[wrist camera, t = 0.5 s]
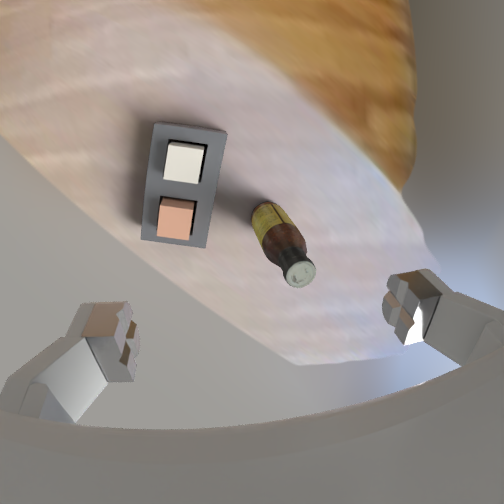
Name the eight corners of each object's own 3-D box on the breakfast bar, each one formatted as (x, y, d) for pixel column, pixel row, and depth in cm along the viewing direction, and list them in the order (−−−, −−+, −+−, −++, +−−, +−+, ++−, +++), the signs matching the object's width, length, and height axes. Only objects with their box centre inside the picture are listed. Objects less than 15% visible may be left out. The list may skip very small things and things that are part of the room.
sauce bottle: (248, 231, 55) (268, 296, 38) (252, 198, 53) (275, 252, 35) (283, 233, 56) (316, 296, 39) (288, 201, 54) (327, 254, 36)
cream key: (171, 141, 42) (168, 145, 39) (204, 146, 43) (203, 150, 40) (166, 172, 44) (163, 179, 41) (198, 177, 45) (197, 184, 42)
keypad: (159, 121, 44) (154, 123, 39) (225, 131, 46) (227, 134, 42) (146, 227, 52) (140, 239, 48) (205, 235, 55) (205, 248, 50)
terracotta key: (163, 197, 46) (160, 205, 43) (194, 201, 47) (193, 210, 44) (160, 225, 48) (156, 235, 45) (189, 229, 49) (188, 240, 46)
